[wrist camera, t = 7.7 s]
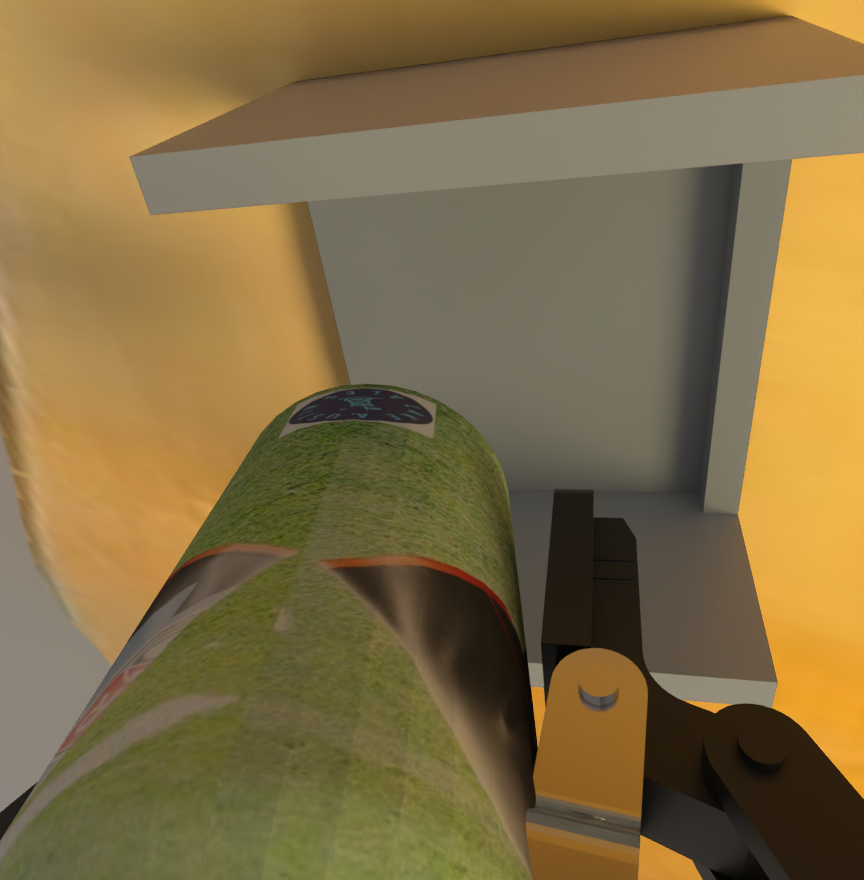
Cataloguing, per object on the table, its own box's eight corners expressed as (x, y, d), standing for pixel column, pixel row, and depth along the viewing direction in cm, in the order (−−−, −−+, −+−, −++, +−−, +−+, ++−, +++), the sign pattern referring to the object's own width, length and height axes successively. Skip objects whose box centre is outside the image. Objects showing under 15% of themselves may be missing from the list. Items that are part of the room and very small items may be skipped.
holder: (294, 81, 18) (129, 157, 12) (790, 15, 15) (924, 68, 9) (386, 490, 26) (316, 667, 20) (724, 497, 23) (771, 707, 17)
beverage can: (257, 547, 18) (-54, 1247, 8) (258, 284, 14) (-383, 1059, 4) (493, 589, 18) (471, 1337, 8) (564, 338, 14) (700, 1246, 4)
